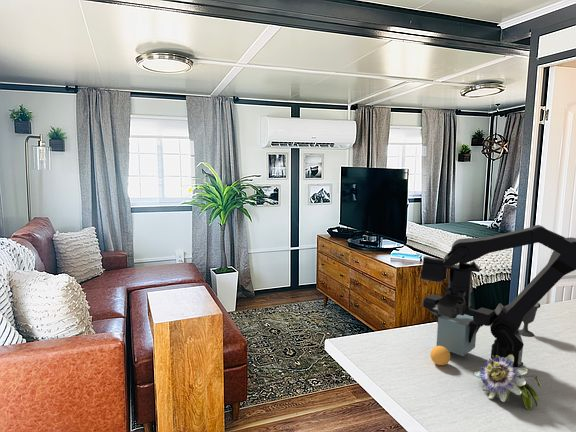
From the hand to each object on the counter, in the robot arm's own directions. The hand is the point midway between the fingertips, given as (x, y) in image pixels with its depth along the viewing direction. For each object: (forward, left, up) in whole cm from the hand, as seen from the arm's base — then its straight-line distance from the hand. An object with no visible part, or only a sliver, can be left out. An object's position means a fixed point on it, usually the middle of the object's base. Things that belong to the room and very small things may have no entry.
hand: (455, 337), depth 111 cm
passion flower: (-17, +11, -5) cm, 21 cm away
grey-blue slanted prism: (0, 0, -3) cm, 3 cm away
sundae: (-9, -31, -5) cm, 33 cm away
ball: (0, +9, -2) cm, 9 cm away
